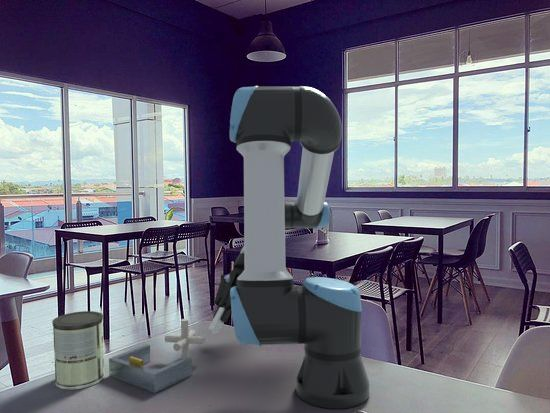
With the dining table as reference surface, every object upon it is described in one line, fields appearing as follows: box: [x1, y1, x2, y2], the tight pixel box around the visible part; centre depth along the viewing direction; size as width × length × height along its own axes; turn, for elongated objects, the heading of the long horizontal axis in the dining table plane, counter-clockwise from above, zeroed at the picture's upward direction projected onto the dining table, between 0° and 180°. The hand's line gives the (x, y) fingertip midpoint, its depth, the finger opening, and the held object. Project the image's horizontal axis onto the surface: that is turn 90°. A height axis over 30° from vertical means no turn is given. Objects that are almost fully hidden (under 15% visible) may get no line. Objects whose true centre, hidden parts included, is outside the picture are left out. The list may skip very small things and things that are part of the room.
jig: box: [108, 344, 193, 394], centre depth 103 cm, size 15×11×5 cm
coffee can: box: [51, 310, 106, 391], centre depth 101 cm, size 10×10×14 cm
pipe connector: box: [164, 318, 207, 359], centre depth 111 cm, size 10×10×10 cm
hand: (213, 331), depth 120 cm, fingers closed
